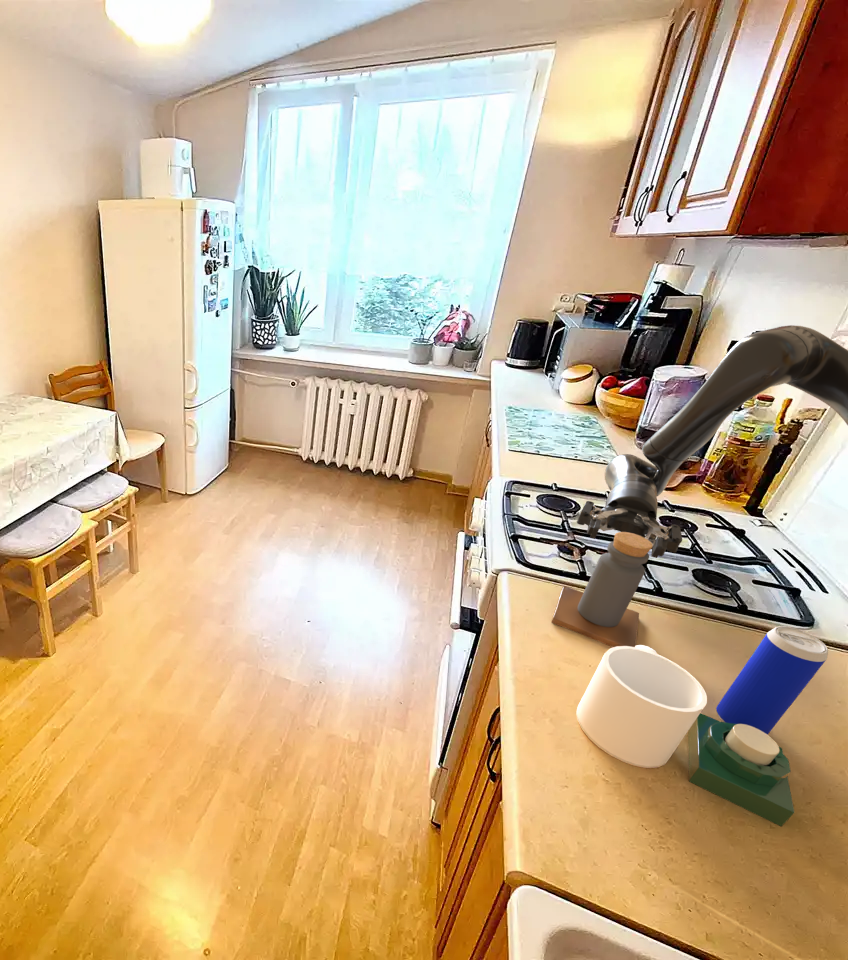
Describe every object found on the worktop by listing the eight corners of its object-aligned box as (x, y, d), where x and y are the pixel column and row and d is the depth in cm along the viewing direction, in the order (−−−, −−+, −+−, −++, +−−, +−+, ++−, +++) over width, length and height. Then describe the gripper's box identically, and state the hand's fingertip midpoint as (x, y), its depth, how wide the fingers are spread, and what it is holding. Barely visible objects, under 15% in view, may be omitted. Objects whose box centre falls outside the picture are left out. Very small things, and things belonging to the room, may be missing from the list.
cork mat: (637, 617, 87) (639, 612, 87) (632, 655, 80) (635, 650, 79) (561, 589, 93) (563, 585, 93) (551, 622, 86) (553, 617, 85)
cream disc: (723, 728, 64) (731, 717, 63) (768, 748, 61) (777, 736, 60) (725, 751, 61) (734, 740, 60) (772, 773, 59) (782, 761, 58)
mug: (673, 785, 61) (714, 727, 57) (574, 741, 66) (604, 685, 61) (663, 710, 71) (697, 655, 66) (576, 677, 76) (602, 623, 71)
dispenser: (687, 725, 69) (703, 701, 67) (770, 761, 64) (790, 738, 62) (688, 781, 62) (706, 757, 60) (781, 827, 57) (803, 802, 55)
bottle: (584, 623, 84) (620, 547, 77) (571, 600, 89) (604, 527, 82) (625, 630, 83) (665, 553, 76) (610, 606, 88) (646, 532, 81)
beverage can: (759, 717, 70) (821, 634, 63) (771, 747, 66) (840, 662, 59) (709, 700, 72) (765, 618, 65) (719, 728, 68) (779, 644, 61)
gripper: (593, 477, 100) (582, 509, 89) (688, 501, 92) (689, 540, 81) (579, 510, 103) (567, 545, 92) (670, 536, 96) (669, 578, 84)
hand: (624, 543), depth 87 cm, fingers open, 8 cm apart
